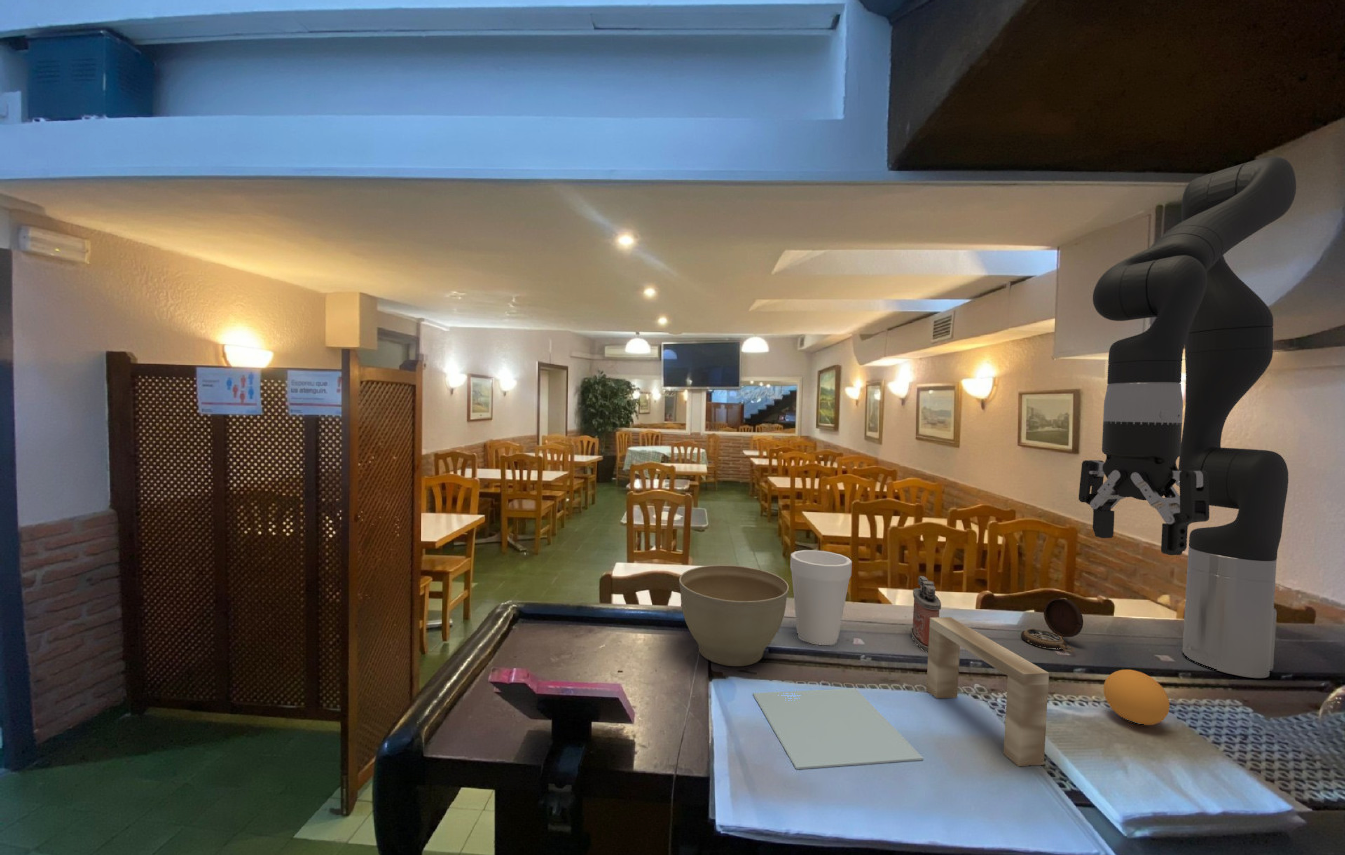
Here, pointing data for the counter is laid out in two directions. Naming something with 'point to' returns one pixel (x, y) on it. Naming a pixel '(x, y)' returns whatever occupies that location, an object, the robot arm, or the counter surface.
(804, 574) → the foam cup
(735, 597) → the planter bowl
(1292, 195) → the robot arm
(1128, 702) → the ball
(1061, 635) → the compass
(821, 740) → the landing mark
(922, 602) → the lighter
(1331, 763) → the counter surface
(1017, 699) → the bridge
